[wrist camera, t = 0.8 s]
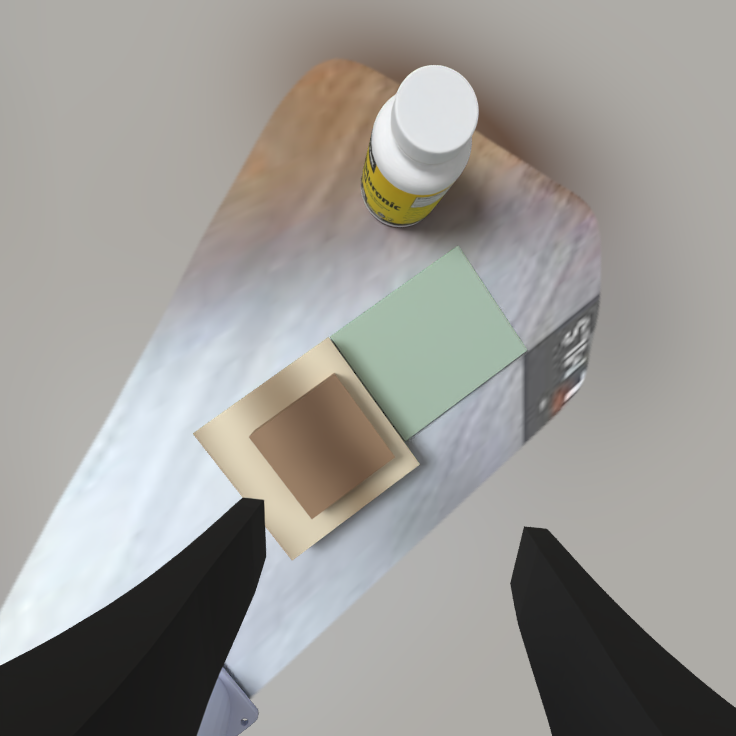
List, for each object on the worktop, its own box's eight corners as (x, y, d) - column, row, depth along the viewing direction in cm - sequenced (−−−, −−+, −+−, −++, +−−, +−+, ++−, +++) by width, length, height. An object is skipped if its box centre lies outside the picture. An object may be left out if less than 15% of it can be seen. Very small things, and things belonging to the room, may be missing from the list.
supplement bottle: (346, 168, 28) (360, 70, 18) (417, 138, 29) (467, 29, 19) (378, 242, 29) (409, 185, 19) (448, 212, 29) (512, 141, 19)
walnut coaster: (312, 506, 26) (311, 519, 24) (254, 430, 25) (248, 437, 23) (389, 449, 26) (395, 457, 24) (334, 372, 25) (335, 374, 24)
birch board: (295, 538, 29) (292, 560, 26) (206, 424, 28) (192, 433, 25) (409, 452, 29) (419, 464, 26) (327, 338, 28) (328, 337, 25)
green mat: (404, 440, 29) (405, 441, 29) (329, 336, 28) (329, 336, 28) (524, 350, 30) (527, 350, 30) (456, 246, 29) (458, 245, 29)
